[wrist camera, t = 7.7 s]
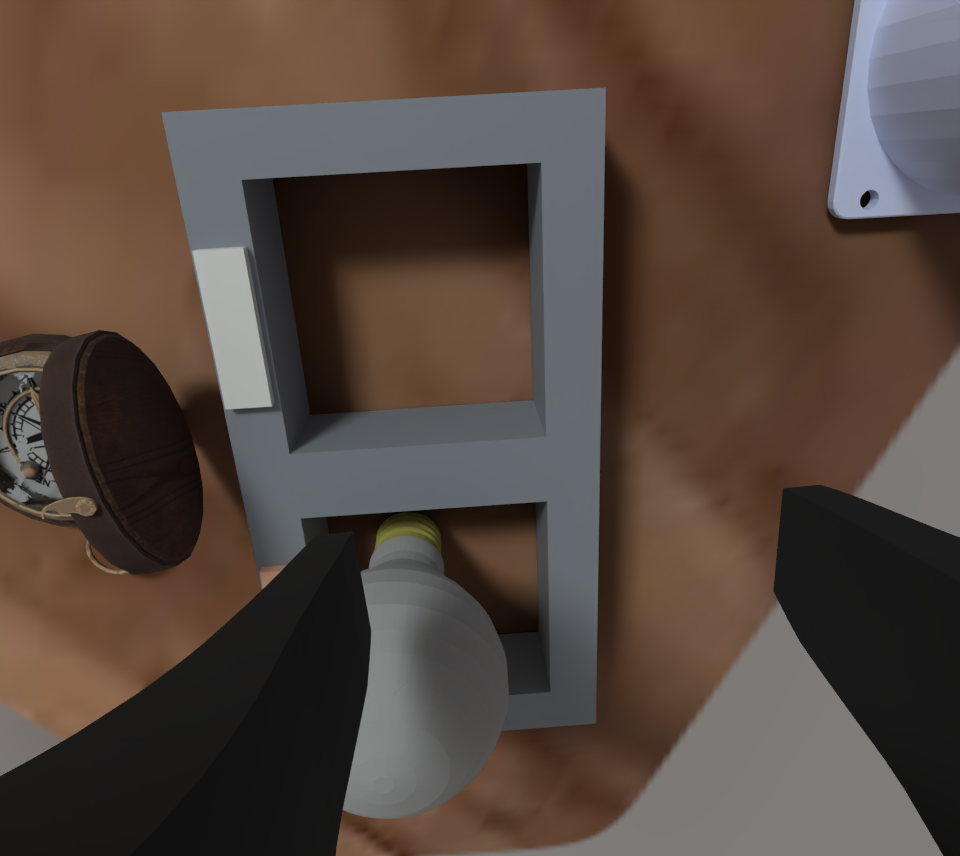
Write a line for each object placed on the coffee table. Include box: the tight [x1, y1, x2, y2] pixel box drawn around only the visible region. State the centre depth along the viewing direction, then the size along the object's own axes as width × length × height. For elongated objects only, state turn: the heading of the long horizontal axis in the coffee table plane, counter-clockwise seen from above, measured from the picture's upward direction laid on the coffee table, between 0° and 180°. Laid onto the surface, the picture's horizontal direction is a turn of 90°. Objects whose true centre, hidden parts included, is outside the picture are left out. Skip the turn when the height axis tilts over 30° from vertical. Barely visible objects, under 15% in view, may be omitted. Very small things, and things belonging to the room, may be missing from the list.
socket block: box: [161, 88, 606, 731], centre depth 20 cm, size 10×19×3 cm, turn 3°
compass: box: [0, 330, 203, 575], centre depth 18 cm, size 8×8×7 cm
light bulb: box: [343, 512, 509, 819], centre depth 18 cm, size 5×5×10 cm
